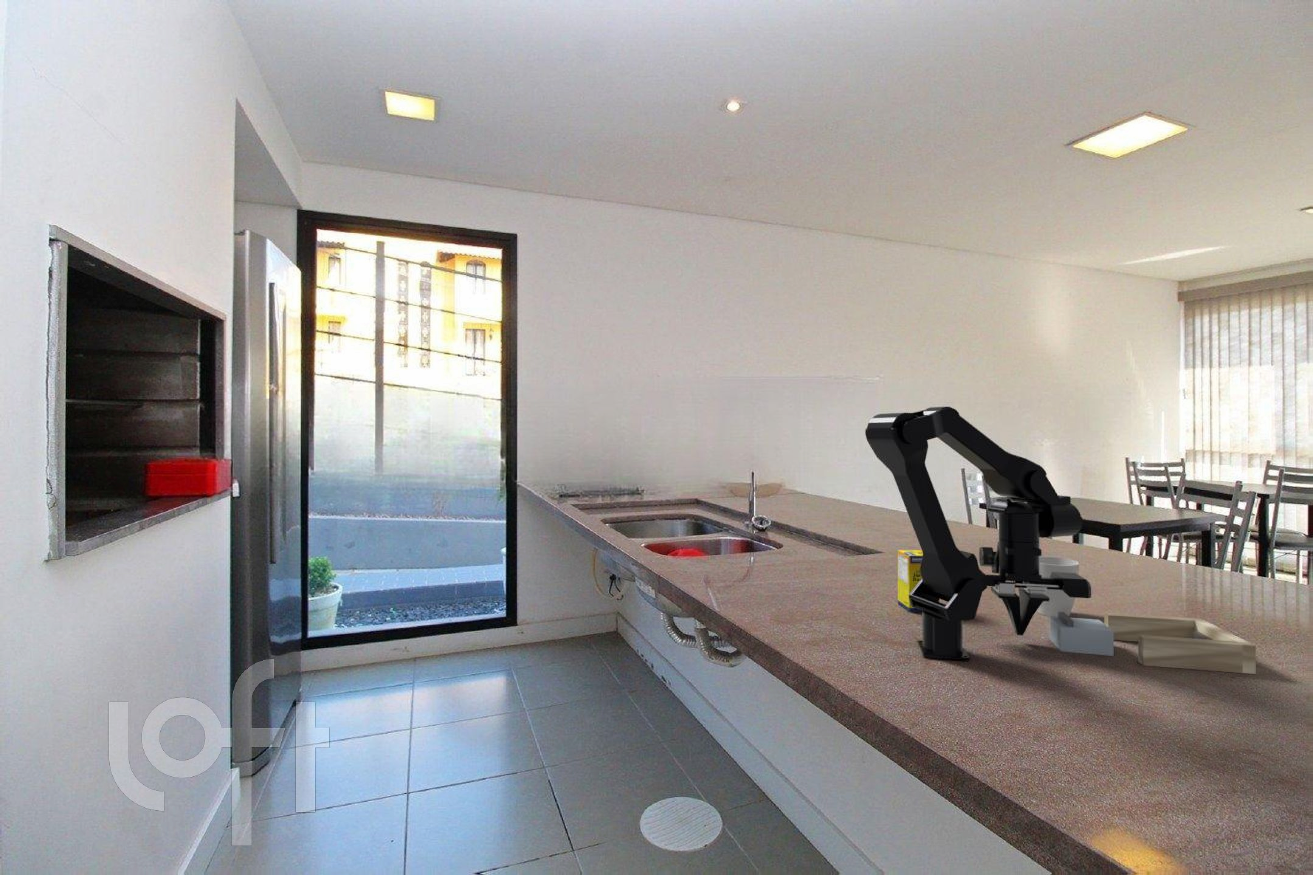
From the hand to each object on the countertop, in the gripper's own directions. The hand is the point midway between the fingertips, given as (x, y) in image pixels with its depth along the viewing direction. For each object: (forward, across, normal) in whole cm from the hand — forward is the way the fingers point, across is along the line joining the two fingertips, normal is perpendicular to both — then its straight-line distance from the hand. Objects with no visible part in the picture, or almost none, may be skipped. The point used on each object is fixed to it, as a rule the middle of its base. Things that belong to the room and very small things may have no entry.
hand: (1019, 634), depth 100 cm
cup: (+2, -11, -19) cm, 22 cm away
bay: (+1, -20, 0) cm, 21 cm away
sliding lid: (+2, -9, 0) cm, 9 cm away
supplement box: (+2, +13, -17) cm, 21 cm away
